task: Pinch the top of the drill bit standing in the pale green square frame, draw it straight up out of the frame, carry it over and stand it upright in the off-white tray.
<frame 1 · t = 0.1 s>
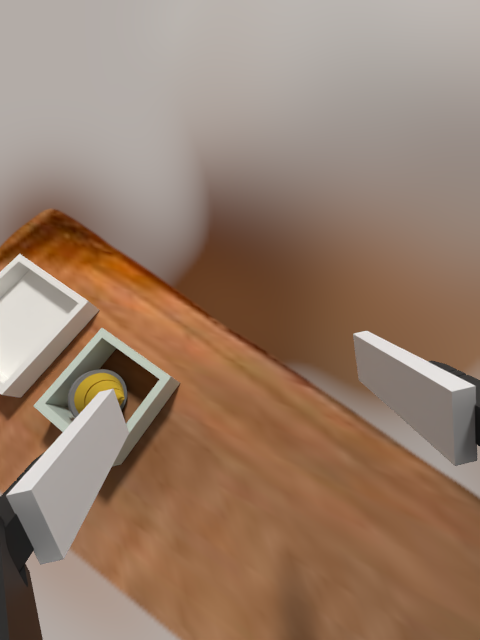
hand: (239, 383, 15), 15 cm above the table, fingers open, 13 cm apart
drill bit: (120, 396, 31), on the table
pale green square frame: (119, 395, 31), on the table
tray: (28, 324, 35), on the table
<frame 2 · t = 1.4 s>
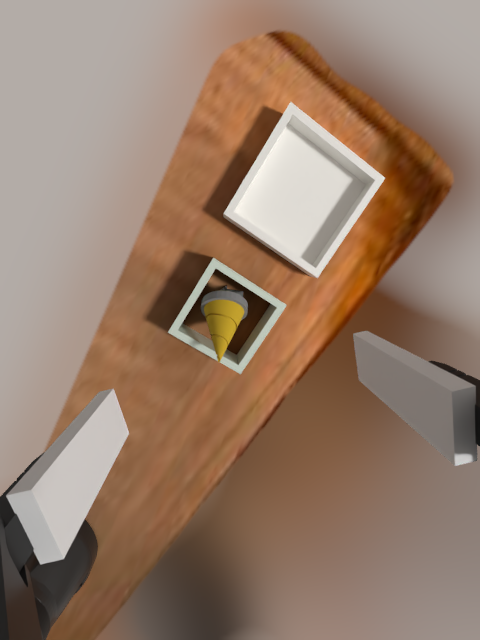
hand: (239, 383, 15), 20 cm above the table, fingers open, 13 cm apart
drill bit: (226, 312, 35), on the table
pale green square frame: (226, 312, 35), on the table
tray: (298, 200, 32), on the table
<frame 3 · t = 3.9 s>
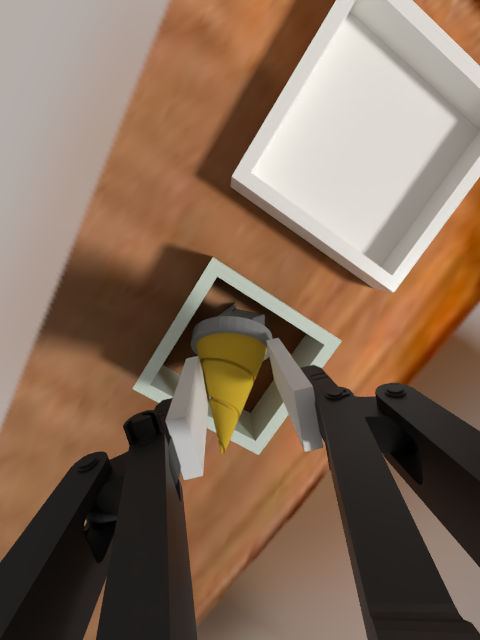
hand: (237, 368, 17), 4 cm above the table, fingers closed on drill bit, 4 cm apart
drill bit: (234, 346, 21), on the table, touching gripper
pale green square frame: (235, 347, 21), on the table
tray: (360, 158, 19), on the table
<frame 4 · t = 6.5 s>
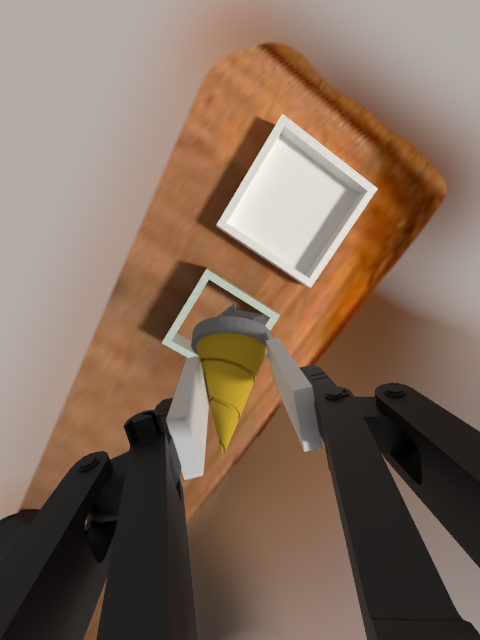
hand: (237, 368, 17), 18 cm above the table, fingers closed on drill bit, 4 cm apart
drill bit: (235, 346, 21), point 13 cm above the table, touching gripper
pale green square frame: (220, 322, 35), on the table
tray: (291, 210, 32), on the table
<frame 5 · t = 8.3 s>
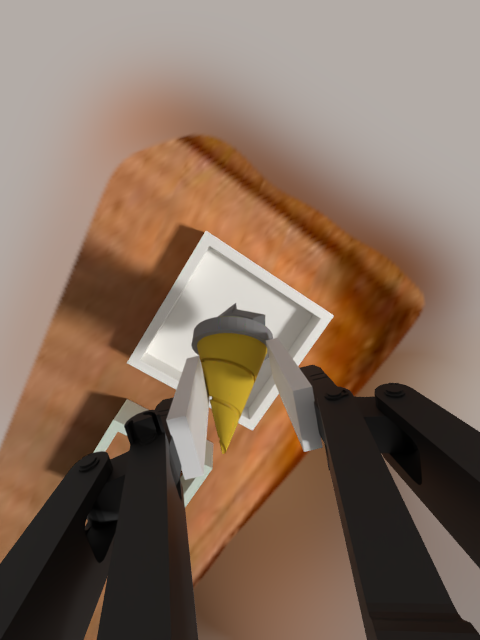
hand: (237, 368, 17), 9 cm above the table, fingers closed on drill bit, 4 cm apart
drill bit: (235, 346, 21), point 5 cm above the table, touching gripper
pale green square frame: (147, 458, 28), on the table
tray: (230, 331, 26), on the table
when the fingers open (6 cm above the table, at t = 9.5 s): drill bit stays where it is, resting on tray.
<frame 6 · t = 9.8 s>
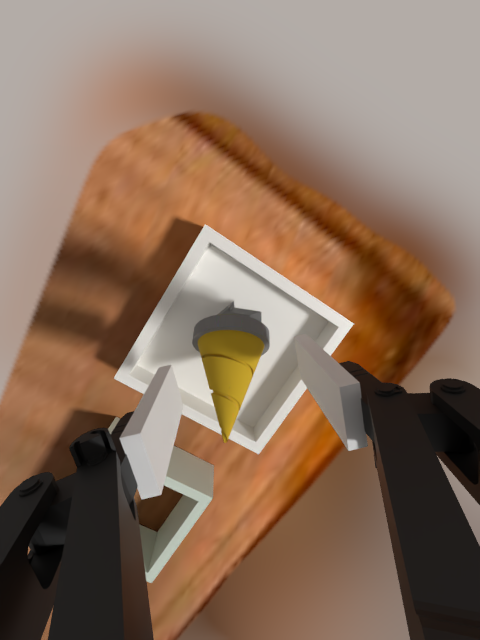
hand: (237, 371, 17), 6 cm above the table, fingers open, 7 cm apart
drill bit: (234, 342, 22), resting on tray
pale green square frame: (139, 482, 25), on the table
tray: (233, 340, 23), on the table
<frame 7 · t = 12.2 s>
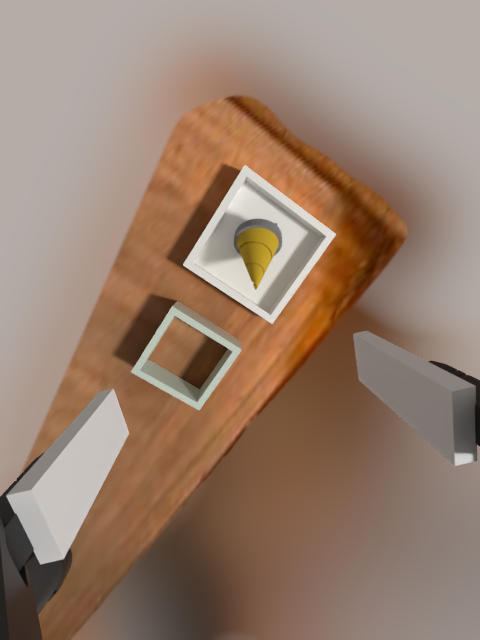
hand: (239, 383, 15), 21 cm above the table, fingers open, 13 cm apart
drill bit: (258, 250, 34), resting on tray
pale green square frame: (190, 350, 37), on the table
tray: (257, 249, 34), on the table
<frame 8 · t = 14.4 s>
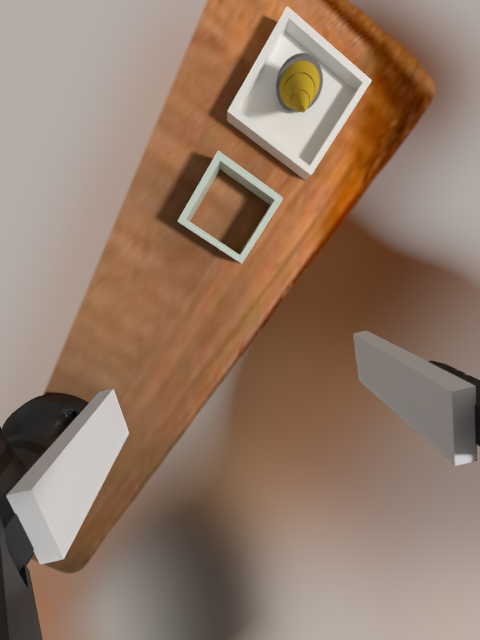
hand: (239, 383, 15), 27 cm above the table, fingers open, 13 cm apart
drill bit: (296, 105, 36), resting on tray
pale green square frame: (229, 213, 38), on the table
tray: (294, 106, 36), on the table
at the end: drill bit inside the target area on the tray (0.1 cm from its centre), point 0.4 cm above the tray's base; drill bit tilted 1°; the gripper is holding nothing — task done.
